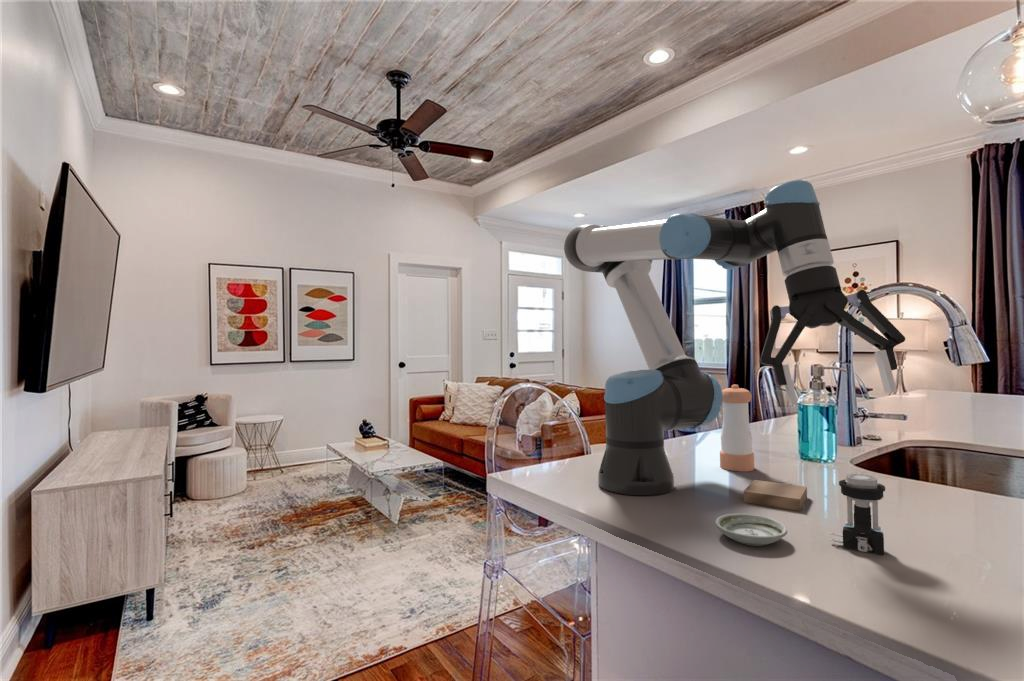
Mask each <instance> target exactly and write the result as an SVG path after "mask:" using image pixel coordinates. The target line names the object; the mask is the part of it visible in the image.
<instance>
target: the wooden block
mask: <svg viewBox="0 0 1024 681" xmlns="http://www.w3.org/2000/svg"><path fill="white" fill-rule="evenodd" d="M807 499H808V486H804V485H796V484H789V483H781V482H773V481H767V480H765V481H764V480H758V479H753V480H752V482H750V483H749V485H748V486H747V487H746V488H745V489H744V490H743V503H747V504H753V505H754V504H755V505H759V506H766V507H772V508H778V509H784V510H791V511H792V510H793V511H797V512H798V511H799V512H801V511H802V508H803V507H804V504H805V503H806V501H807Z"/></svg>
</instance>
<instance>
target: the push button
mask: <svg viewBox="0 0 1024 681" xmlns="http://www.w3.org/2000/svg"><path fill="white" fill-rule="evenodd" d="M838 485H839V486H840V493H841V494H842V495H843V496H846V516H847V518H846V519H847V520H846V521H844V525H843V527H842V533H840V532H832V531H829V535H832V536H838V537H842V539H839V538H838V539H836V538H832V537H831V538H830V537H829V541H830V542H836V543H840V544H842V546H843V548H845V549H850V550H856V551H859V552H863V553H864V552H865V553H872V554H875V555H879V556H884V555H885V539H884V538H885V537H884V536H885V535H884V532H883V531H882V529H881V528H882V527H881V526H880V525H879V501H880V500H883V498H884V492H885V491H886V486H885V485H884V484H882V483H879V482H878V479H877V477H875V476H871V475H867V474H860V473H859V474H858V473H857V474H855V473H852V474H851V473H849V474H846V476H845V479H840V480H839V481H838ZM853 501H854V504H853ZM870 503H871V504H872V506H870ZM871 510H872V514H871ZM853 511H854V512H853Z"/></svg>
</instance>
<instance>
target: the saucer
mask: <svg viewBox="0 0 1024 681" xmlns="http://www.w3.org/2000/svg"><path fill="white" fill-rule="evenodd" d="M714 524H715V526H716V528H717V529H718V530H719V531H720V532H722V533H723V534H724V535H725V536H726V537H727V538H730V539H732V540H733V541H735V542H737V543H738V544H743V545H747V546H751V547H752V546H753V547H760V546H761V547H763V546H767V545H769V544H774V543H776V542H778V541H779V540H781V539H783V537H785V536H786V535H787V534H788V529H787V527H786V526H785V524H783V523H782V522H780V521H778V520H776V519H774V518H771V517H768V516H764V515H757V514H754V513H753V514H752V513H751V514H750V513H727V514H723V515H720V516H719V517H717V518H716V519H715V521H714Z"/></svg>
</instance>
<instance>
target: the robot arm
mask: <svg viewBox="0 0 1024 681" xmlns="http://www.w3.org/2000/svg"><path fill="white" fill-rule="evenodd" d="M764 206H765V208H764V209H763V210H761V211H759V212H758V213H756V214H754V215H752V216H751V217H748V218H747V219H744V220H738V219H733V218H731V219H730V218H723V217H714V216H706V215H699V214H696V213H692V212H691V213H675V214H673V215H670V217H668V218H666V219H659V220H651V221H645V222H636V223H630V224H628V223H627V224H622V225H621V224H619V225H614V226H613V225H612V226H609V225H607V226H606V225H599V224H582V225H578V226H577V227H575V228H573V229H572V230H571V231H569V233H568V235H567V236H566V238H565V240H564V245H563V250H564V255H565V258H566V259H567V261H568V263H569V265H571V266H572V267H574V268H576V269H577V270H580V271H582V272H587V273H600V274H601V273H602V274H603V275H602V276H603V277H604V279H605V282H606V284H607V286H608V287H610V288H613V289H615V290H616V292H617V295H618V297H619V299H620V302H621V304H622V307H623V309H624V312H625V313H626V314H625V315H626V316H627V319H628V321H629V323H630V327H631V328H632V330H633V334H634V335H635V338H636V340H637V343H638V345H639V348H640V351H641V353H642V355H643V357H644V360H645V362H646V365H647V367H648V369H637V370H629V371H623V372H619V373H615V374H613V375H610V376H609V377H608V378H607V379H606V380H605V384H604V385H605V387H604V395H603V399H604V407H605V410H604V411H605V412H604V413H605V450H604V453H603V456H602V460H601V464H600V467H599V470H598V476H597V477H598V478H597V479H598V486H599V487H601V489H603V490H605V491H608V492H612V493H616V494H622V495H629V496H654V495H655V496H656V495H662V494H666V493H668V492H671V491H673V490H674V489H675V479H674V478H675V477H674V472H673V471H672V468H671V467H672V466H671V465H670V462H669V461H670V460H669V459H668V455H667V453H666V451H665V450H666V449H665V431H666V432H667V431H674V430H683V429H697V428H699V427H704V426H707V425H709V424H711V423H713V422H714V421H715V420H716V419H717V418H718V416H719V414H720V413H721V407H723V402H722V401H723V395H722V390H723V389H722V386H721V385H720V382H719V381H718V380H717V378H716V377H715V376H714V375H711V374H710V373H707V372H702V370H701V368H700V366H699V364H698V362H697V360H696V359H695V358H694V357H691V356H688V355H686V353H685V350H684V348H683V347H682V344H681V342H680V339H679V338H678V335H677V333H676V331H675V329H674V327H673V325H672V322H671V320H670V317H669V316H668V314H667V312H666V309H665V307H664V305H663V303H662V301H661V298H660V296H659V294H658V292H657V289H656V287H655V286H654V283H653V281H652V279H651V276H650V275H649V274H650V272H651V269H652V263H653V261H657V260H658V261H659V260H709V261H710V260H711V261H714V262H715V263H716V264H717V265H718V266H720V267H722V269H725V270H735V269H737V268H741V267H745V266H748V265H749V264H751V263H753V262H755V261H756V260H759V259H761V258H763V257H765V256H768V255H770V254H772V253H774V252H776V251H777V254H778V255H777V256H778V259H779V263H780V267H781V272H782V276H783V277H785V279H784V285H785V289H786V292H787V293H786V294H787V297H788V298H787V299H788V301H789V302H788V303H789V305H788V306H780V305H778V304H777V305H776V304H775V305H773V306H772V308H771V309H770V311H769V312H770V325H769V328H768V331H767V335H766V337H765V341H764V345H763V349H762V352H761V354H760V358H759V364H760V365H762V366H764V365H765V366H770V367H772V369H773V372H774V376H775V381H776V384H777V385H778V386H779V387H780V386H781V387H782V386H784V388H785V393H786V397H787V402H788V407H789V406H796V405H798V401H797V400H798V399H797V396H796V392H795V388H794V384H793V380H792V375H791V372H790V366H789V363H788V364H783V363H784V361H785V359H786V357H787V356H788V355H789V353H790V351H791V349H792V348H793V347H794V345H795V343H796V341H797V340H798V339H799V337H800V335H801V334H802V332H803V331H804V329H805V328H808V329H817V328H818V327H829V326H832V325H834V324H836V323H837V324H839V325H840V326H842V327H845V328H846V329H848V330H850V331H851V332H852V333H854V334H855V335H857V336H858V337H859V338H861V339H862V340H865V342H867V343H869V344H870V345H872V346H873V347H875V348H876V349H878V351H876V352H873V354H874V357H875V362H876V365H877V369H878V372H879V375H880V379H881V382H882V388H883V391H884V394H891V393H897V392H898V389H897V386H896V382H895V378H894V374H893V371H896V370H897V369H898V363H897V359H896V356H895V352H894V349H895V347H896V346H898V345H900V344H903V343H904V342H905V341H906V337H905V335H904V334H903V333H902V332H901V331H900V330H899V329H898V328H896V326H895V325H894V324H893V323H892V322H891V321H890V320H889V319H888V318H887V317H886V316H885V315H884V314H883V313H882V312H881V311H880V310H879V308H877V307H876V306H875V305H874V303H872V301H871V299H870V297H869V295H868V293H867V291H866V290H865V289H860V290H858V291H857V292H855V293H852V294H847V295H845V294H844V292H843V290H842V286H841V284H840V279H839V275H838V272H837V269H836V267H835V266H833V264H834V263H835V260H834V257H833V254H832V250H831V247H830V243H829V239H828V236H827V233H826V229H825V224H824V221H823V220H824V219H823V216H822V213H821V208H820V202H819V200H818V197H817V195H816V191H815V189H814V186H813V185H812V183H811V182H809V181H808V180H802V179H798V180H790V181H786V182H783V183H781V184H778V185H776V186H774V187H772V188H771V189H770V190H769V191H768V192H767V193H766V194H765V197H764ZM848 304H851V305H852V306H853V307H854V308H857V309H858V311H859V312H861V313H862V315H863V316H864V317H866V319H867V320H868V321H869V322H870V323H871V324H872V325H873V327H875V329H877V330H878V331H879V332H880V333H881V334H880V333H878V332H877V331H874V330H873V329H872V328H871V327H869V326H867V325H866V324H865V323H863V322H861V321H860V320H859V319H858V318H855V317H854V316H853V314H851V313H850V312H848V311H846V310H845V309H846V307H847V305H848ZM787 314H789V315H790V316H791V317H793V318H794V319H796V323H795V324H794V326H793V327H792V330H791V331H790V333H789V334H788V336H787V337H786V339H785V341H784V342H783V343H782V345H781V347H780V348H779V351H777V353H776V355H775V357H772V356H771V355H772V353H773V349H774V346H775V342H776V339H777V336H778V333H779V330H780V326H781V322H782V320H784V319H785V318H786V316H787Z"/></svg>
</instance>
